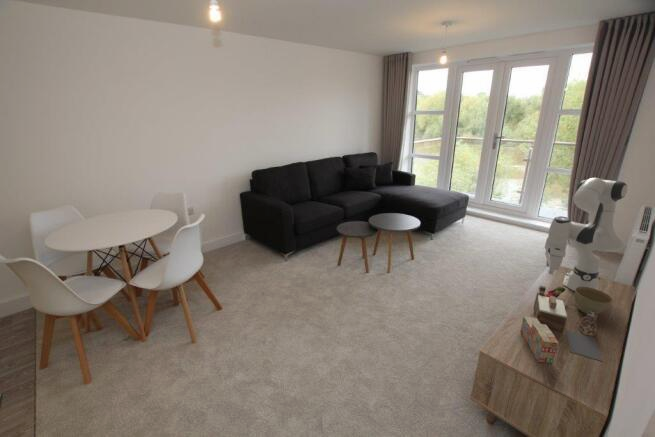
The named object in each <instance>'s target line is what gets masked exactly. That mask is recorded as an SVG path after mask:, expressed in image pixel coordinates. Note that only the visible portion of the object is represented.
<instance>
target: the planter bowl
mask: <svg viewBox="0 0 655 437" xmlns="http://www.w3.org/2000/svg"><path fill="white" fill-rule="evenodd" d="M597 289H598V288H597ZM597 289H594V288H589V287H577V288H576V289H575V291H574V300H575V303H576V305H577V309H579V310H580V312H583V313H584V314H586V315H587V314H588V312H590V311H591V310H594V312H595V313H596V314H597V316H598V315H599V314H600V313H603V312H605V311H606V310H607V309H608V308H609V307H610V306H611V304H612V303H613V297H612V296H610V295H609V294H608V293H606V292H605V291H602V290H600V289H598V290H597Z"/></svg>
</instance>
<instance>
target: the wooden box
mask: <svg viewBox="0 0 655 437" xmlns="http://www.w3.org/2000/svg"><path fill="white" fill-rule="evenodd" d="M535 295H536V296H535V300H534V304H533V315H534V316H533V318H537V319H538V321H539V322H540V323H541V324H545V325H547V327H548V328H549V329H550V330H551V331H556V332H559V333H562V334H563V332H564V330H565V326H566V323H567V320H568V316H567V317H566V318H565V317H561V316H557V315H553V314H549V313H545V312H541V311H540V310H539V301H538V295H541V296H545V297H546V295H547V294H546V293H544V294H542V293H539V291H537V293H536V294H535Z"/></svg>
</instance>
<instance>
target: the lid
mask: <svg viewBox="0 0 655 437" xmlns="http://www.w3.org/2000/svg"><path fill="white" fill-rule="evenodd" d="M538 301H539V310H540V311H541V312H545V313H549V314H553V315H557V316H561V317H565V318H566V317H567V318H568V316H567V312H566V311H567V310H566V307H565V304H564V301H563V300H561V299H557V298H555V297H554V296H550V297H545V296H541V295H538Z"/></svg>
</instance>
